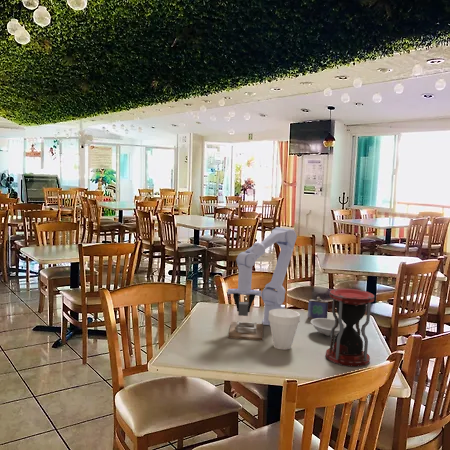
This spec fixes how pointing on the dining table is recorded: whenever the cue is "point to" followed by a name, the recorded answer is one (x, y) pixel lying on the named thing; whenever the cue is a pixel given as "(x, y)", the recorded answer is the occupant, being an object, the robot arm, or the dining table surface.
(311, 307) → the flask
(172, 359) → the dining table surface
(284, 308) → the robot arm
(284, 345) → the cup
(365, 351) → the hourglass
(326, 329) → the dish
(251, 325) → the dock
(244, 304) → the grey matte cube
